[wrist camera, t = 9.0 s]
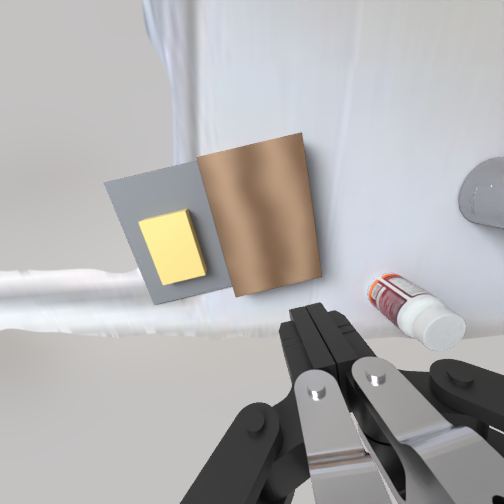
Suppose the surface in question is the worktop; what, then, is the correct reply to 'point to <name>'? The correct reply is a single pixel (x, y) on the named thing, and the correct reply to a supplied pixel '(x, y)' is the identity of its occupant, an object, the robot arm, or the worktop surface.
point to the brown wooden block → (263, 213)
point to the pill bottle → (416, 312)
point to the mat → (163, 202)
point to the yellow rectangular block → (174, 246)
